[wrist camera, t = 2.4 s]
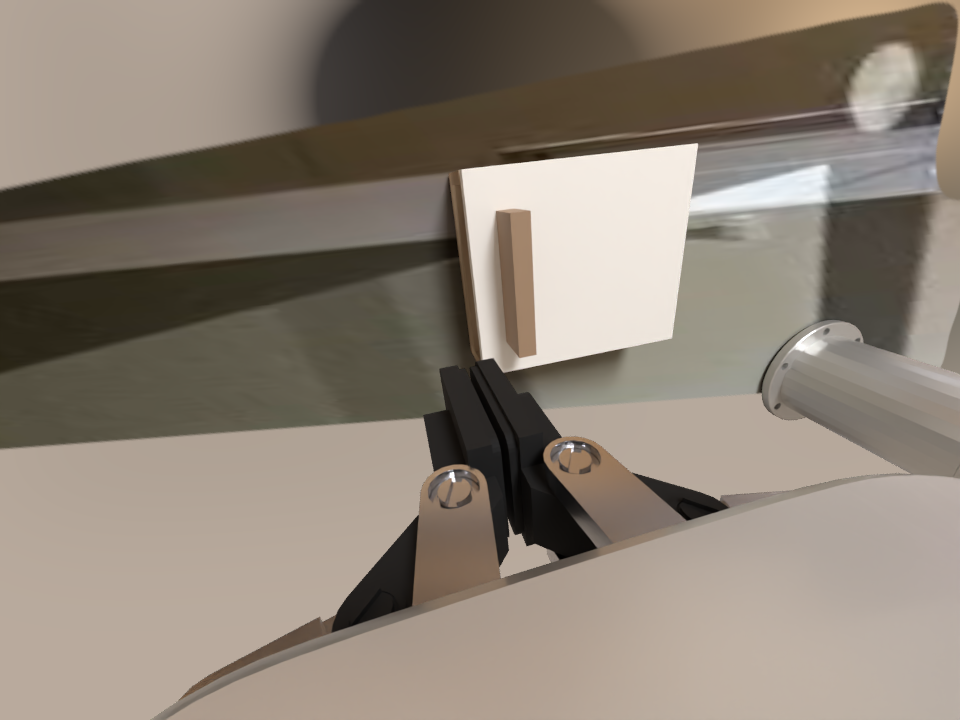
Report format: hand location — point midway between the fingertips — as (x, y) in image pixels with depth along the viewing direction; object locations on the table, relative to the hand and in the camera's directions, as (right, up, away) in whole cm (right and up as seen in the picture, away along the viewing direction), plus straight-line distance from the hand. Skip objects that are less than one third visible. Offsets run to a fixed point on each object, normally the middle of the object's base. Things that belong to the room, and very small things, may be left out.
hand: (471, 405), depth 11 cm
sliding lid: (+7, +8, +15) cm, 19 cm away
